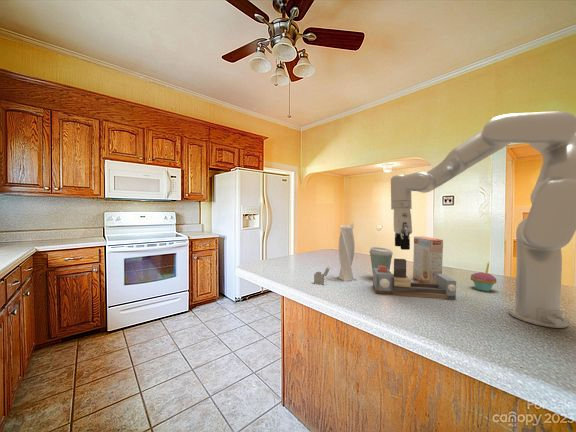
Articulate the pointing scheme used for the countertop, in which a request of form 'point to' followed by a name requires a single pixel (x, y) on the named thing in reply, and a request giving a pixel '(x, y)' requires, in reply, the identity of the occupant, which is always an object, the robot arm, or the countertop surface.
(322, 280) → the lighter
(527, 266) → the robot arm
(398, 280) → the carriage
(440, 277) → the grey rectangular block
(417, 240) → the cracker box
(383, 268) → the button
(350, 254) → the skyscraper
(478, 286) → the cupcake
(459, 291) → the countertop surface
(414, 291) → the track
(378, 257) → the disposable coffee cup
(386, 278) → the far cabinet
